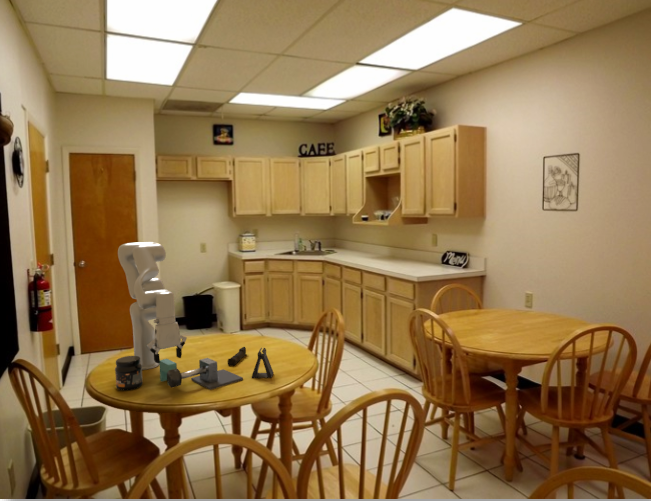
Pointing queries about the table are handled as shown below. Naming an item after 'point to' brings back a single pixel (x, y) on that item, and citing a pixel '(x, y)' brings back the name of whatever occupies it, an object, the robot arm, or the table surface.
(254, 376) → the phone stand
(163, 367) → the spacer
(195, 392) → the table surface
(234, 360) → the hand tool
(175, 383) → the shaft
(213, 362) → the bracket
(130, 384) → the supplement container
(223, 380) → the base plate
